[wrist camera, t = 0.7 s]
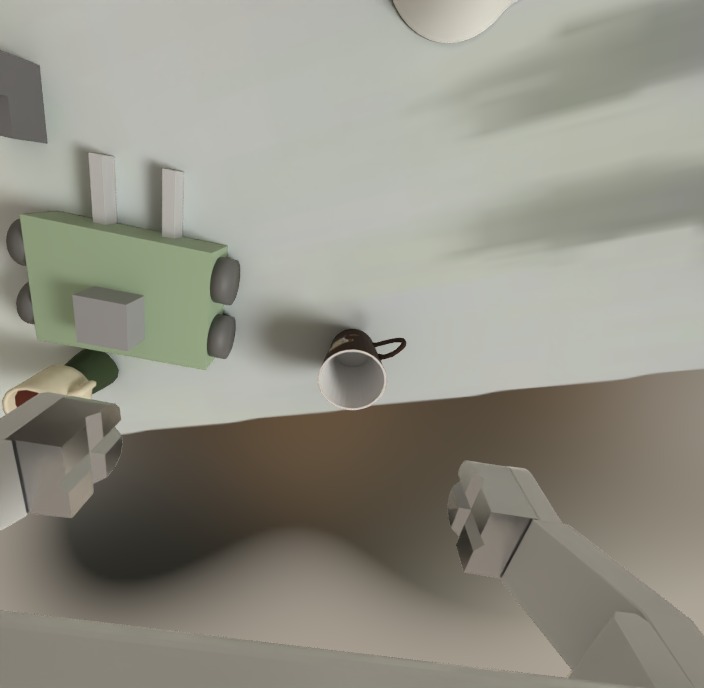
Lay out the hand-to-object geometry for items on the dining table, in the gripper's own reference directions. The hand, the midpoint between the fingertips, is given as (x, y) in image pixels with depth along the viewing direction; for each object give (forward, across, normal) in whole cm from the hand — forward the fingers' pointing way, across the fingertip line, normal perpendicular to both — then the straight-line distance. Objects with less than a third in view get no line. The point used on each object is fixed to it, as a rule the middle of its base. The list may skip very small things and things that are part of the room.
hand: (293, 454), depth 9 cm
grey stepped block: (+44, +40, -8) cm, 60 cm away
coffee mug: (+44, -6, +16) cm, 47 cm away
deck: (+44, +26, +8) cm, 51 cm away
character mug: (+44, +33, +26) cm, 61 cm away
